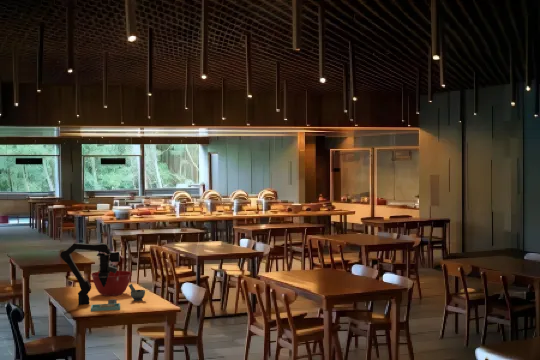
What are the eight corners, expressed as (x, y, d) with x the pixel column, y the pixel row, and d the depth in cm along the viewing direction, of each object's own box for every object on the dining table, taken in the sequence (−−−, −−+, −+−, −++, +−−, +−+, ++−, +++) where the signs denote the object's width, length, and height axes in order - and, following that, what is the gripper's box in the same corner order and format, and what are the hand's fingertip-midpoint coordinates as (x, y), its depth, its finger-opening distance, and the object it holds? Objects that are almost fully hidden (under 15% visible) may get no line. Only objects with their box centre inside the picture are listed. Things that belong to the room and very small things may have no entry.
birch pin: (98, 306, 451) (112, 301, 452) (98, 304, 454) (112, 299, 455) (101, 313, 453) (115, 308, 454) (101, 311, 455) (115, 306, 456)
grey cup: (108, 307, 461) (108, 301, 461) (108, 305, 466) (108, 299, 466) (116, 306, 462) (116, 300, 462) (116, 305, 467) (116, 299, 467)
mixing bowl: (137, 291, 521) (136, 270, 521) (125, 298, 493) (124, 276, 492) (99, 291, 524) (99, 270, 523) (85, 298, 495) (85, 276, 495)
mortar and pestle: (143, 299, 488) (143, 281, 488) (146, 301, 479) (146, 283, 479) (127, 300, 483) (126, 283, 483) (130, 303, 475) (130, 285, 474)
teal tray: (90, 312, 446) (90, 308, 446) (91, 308, 458) (91, 304, 458) (120, 310, 450) (120, 306, 450) (120, 307, 461) (120, 303, 461)
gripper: (115, 263, 465) (115, 287, 466) (117, 260, 484) (117, 283, 484) (98, 264, 464) (98, 288, 464) (100, 260, 482) (101, 283, 483)
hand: (104, 285), depth 474 cm, fingers open, 9 cm apart
